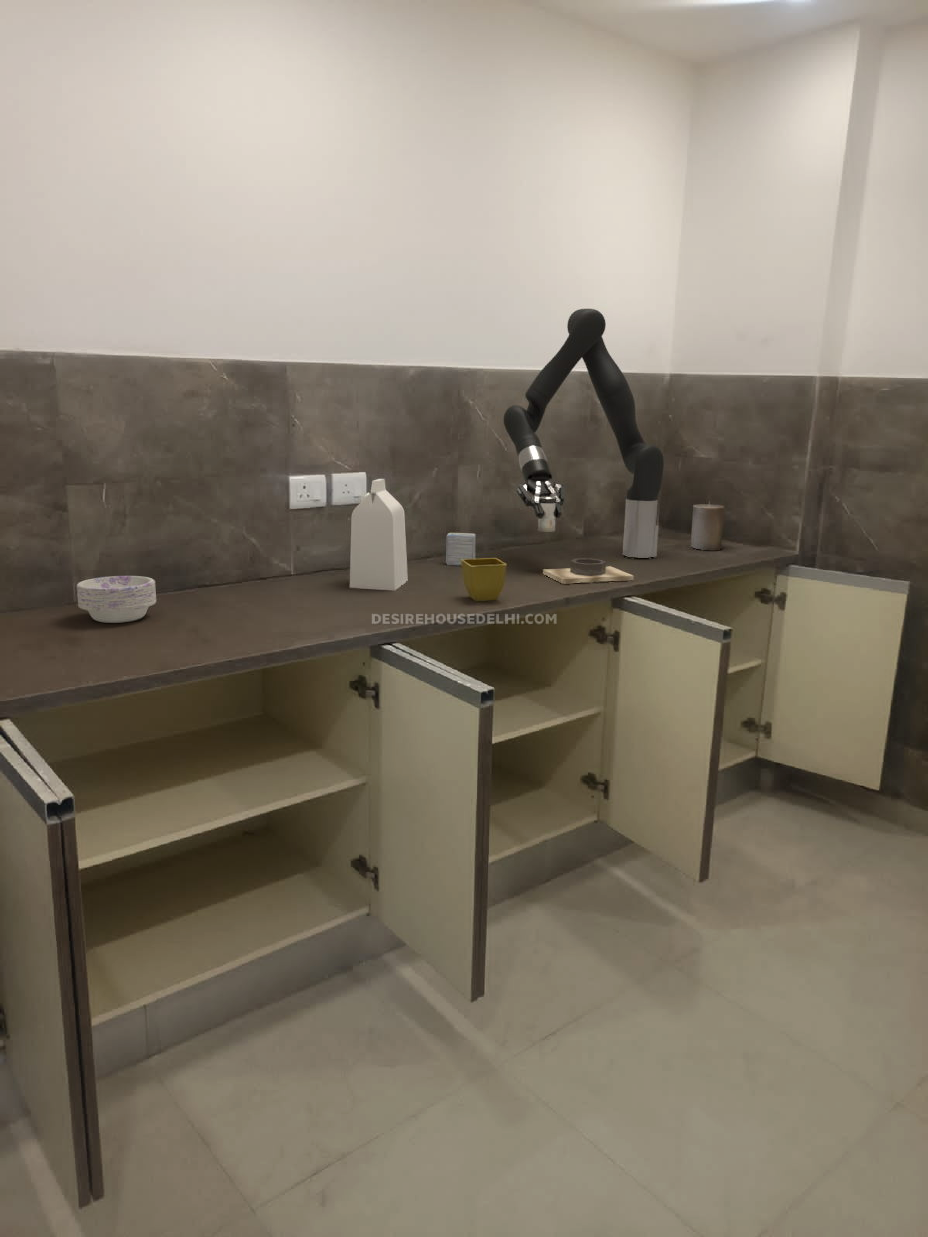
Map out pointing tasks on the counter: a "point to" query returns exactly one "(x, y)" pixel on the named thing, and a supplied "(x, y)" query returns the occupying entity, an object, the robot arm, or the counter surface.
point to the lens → (547, 514)
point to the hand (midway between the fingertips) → (550, 516)
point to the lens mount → (587, 572)
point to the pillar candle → (707, 527)
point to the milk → (378, 541)
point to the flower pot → (483, 577)
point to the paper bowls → (116, 597)
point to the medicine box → (459, 547)
